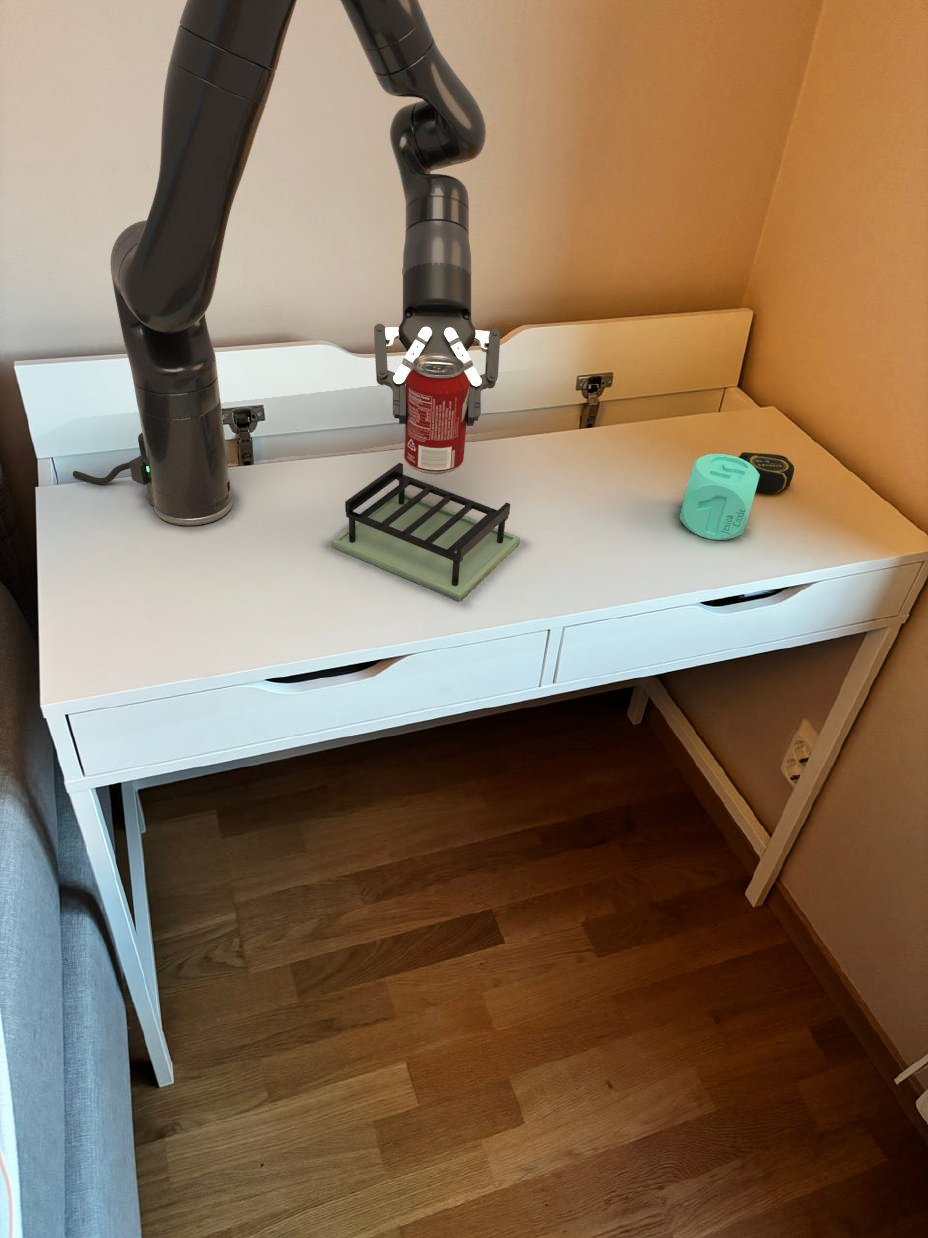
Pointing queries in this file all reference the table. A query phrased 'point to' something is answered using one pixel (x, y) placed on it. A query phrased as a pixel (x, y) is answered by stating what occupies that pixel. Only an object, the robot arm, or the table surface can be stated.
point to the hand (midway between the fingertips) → (436, 422)
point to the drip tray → (420, 561)
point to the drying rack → (425, 516)
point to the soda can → (436, 413)
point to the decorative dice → (719, 496)
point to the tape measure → (770, 471)
